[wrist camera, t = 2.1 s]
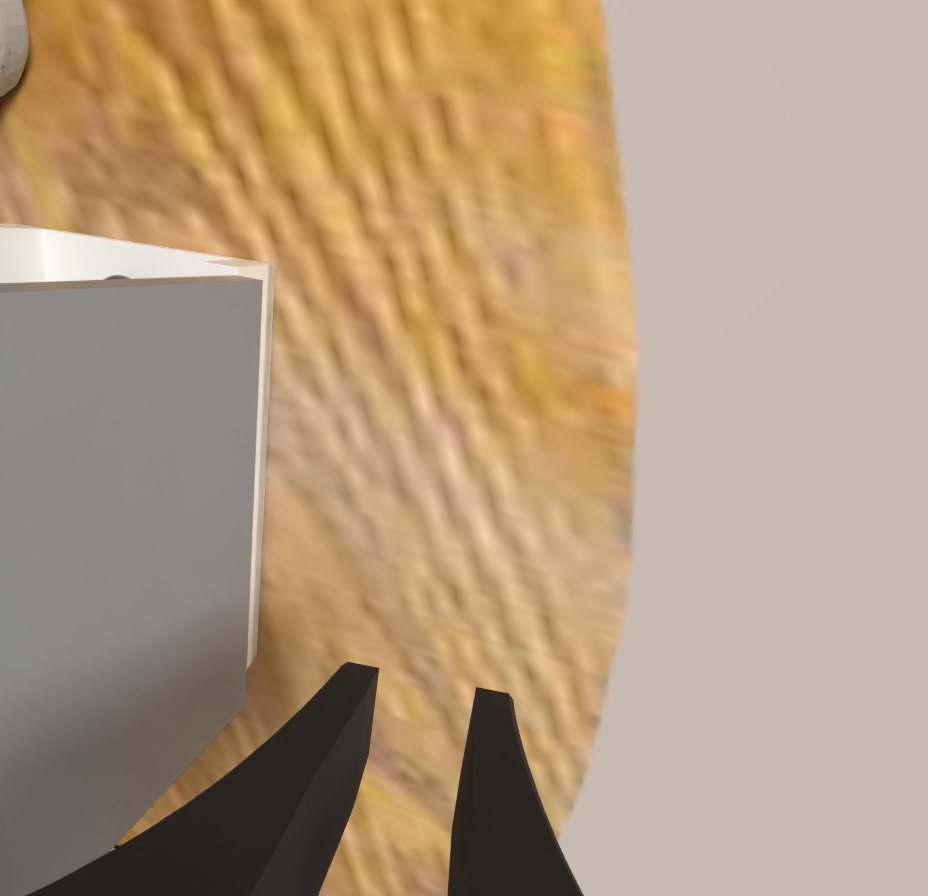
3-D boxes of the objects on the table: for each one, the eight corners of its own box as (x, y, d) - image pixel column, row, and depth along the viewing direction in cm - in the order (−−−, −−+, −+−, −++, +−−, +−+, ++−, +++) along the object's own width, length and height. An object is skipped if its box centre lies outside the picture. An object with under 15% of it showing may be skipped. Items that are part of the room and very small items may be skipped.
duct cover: (223, 698, 21) (245, 705, 21) (-11, 934, 14) (19, 948, 13) (235, 275, 17) (262, 280, 16) (-99, 287, 9) (-57, 295, 9)
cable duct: (257, 654, 24) (225, 700, 21) (52, 614, 24) (-1, 654, 22) (275, 264, 19) (238, 267, 17) (23, 224, 20) (-48, 221, 17)
